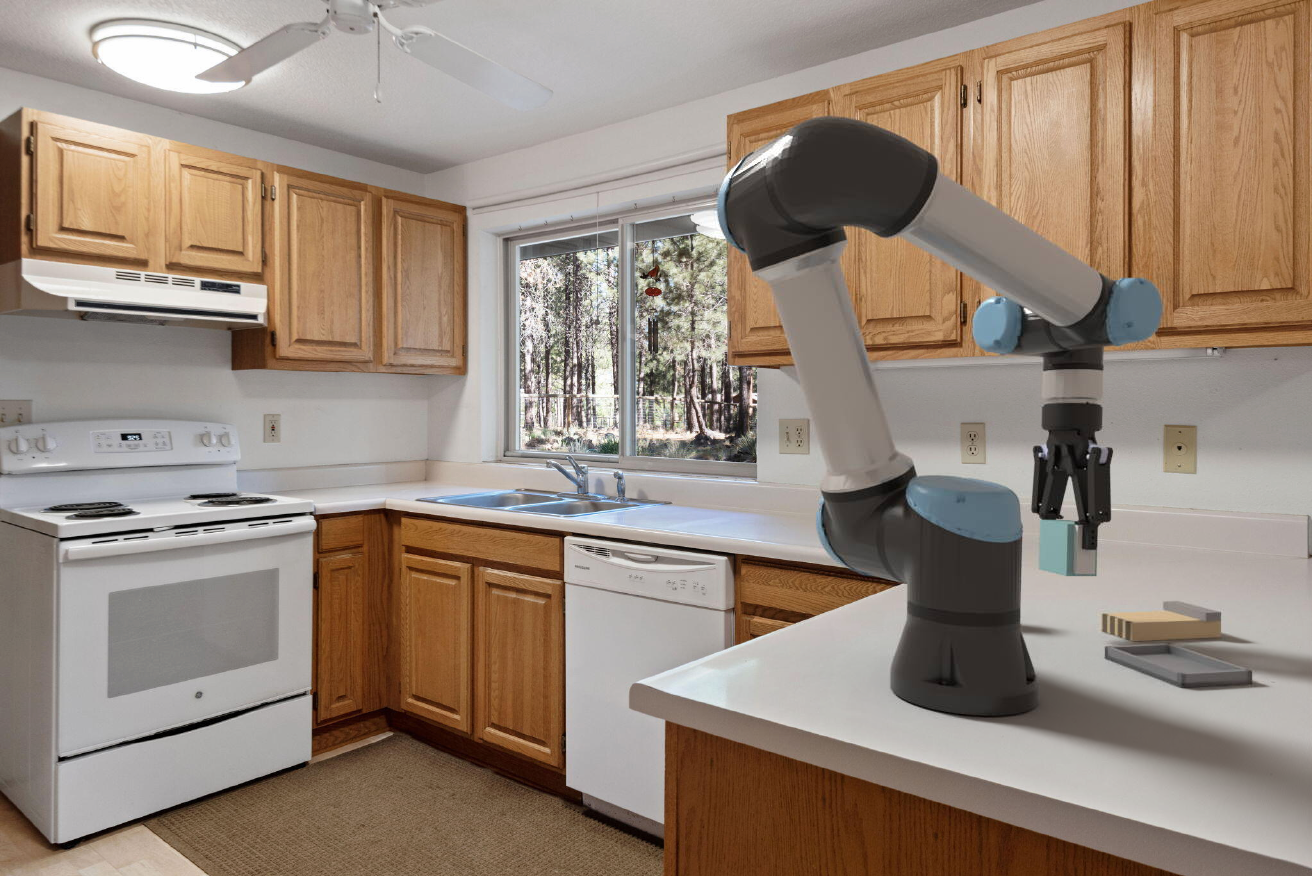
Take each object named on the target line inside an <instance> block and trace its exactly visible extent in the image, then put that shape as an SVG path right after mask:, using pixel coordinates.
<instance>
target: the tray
mask: <svg viewBox="0 0 1312 876" xmlns="http://www.w3.org/2000/svg"><path fill="white" fill-rule="evenodd" d="M1104 659H1106V660H1109V661H1111V662H1114V663H1116V664H1119V665H1121V666H1124V667H1127V668H1129V669H1132V670H1135V671H1136V672H1137V671H1138V672H1140V673H1142V674H1144V675H1148V676H1149V677H1153V678H1155V679H1158V680H1161V681H1163V682H1166V683H1169V684H1171V685H1173V686H1175V687H1179V688H1181V689H1183V688H1201V687H1218V686H1234V685H1250V684H1251V685H1252V684H1253V670H1252V669H1249V668H1246V667H1243V666H1239V665H1236V664H1234V663H1230V662H1228V661H1224V660H1221V659H1219V658H1215V657H1212V656H1209V655H1206V654H1203V653H1200V652H1197V651H1194V650H1191V649H1188V648H1185V647H1182V646H1179V645H1175V644H1173V643H1169V642H1168V643H1167V642H1166V643H1150V644H1149V643H1148V644H1147V643H1145V644H1144V643H1143V644H1129V645H1128V644H1125V645H1105V646H1104Z"/></svg>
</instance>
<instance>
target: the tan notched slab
mask: <svg viewBox="0 0 1312 876" xmlns="http://www.w3.org/2000/svg"><path fill="white" fill-rule="evenodd" d="M1162 602H1163V603H1162V607H1163V608H1162V610H1157V611H1152V610H1151V611H1132V612H1130V611H1129V612H1128V611H1127V612H1125V611H1124V612H1109V613H1107V612H1106V613H1105V612H1102V613H1101V615H1100V619H1101V623H1100V625H1101V626H1100V632H1104V633H1106V634H1109V635H1113V636H1116V637H1118V638H1121V639H1123V640H1127V641H1130V642H1145V641H1148V642H1150V641H1165V640H1166V641H1167V640H1190V639H1211V638H1221V637H1222V612H1221V611H1219V610H1214V609H1209V608H1207V607H1203V606H1199V605H1194V604H1190V603H1187V602H1183V601H1180V600H1174V601H1172V600H1170V601H1162Z"/></svg>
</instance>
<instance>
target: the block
mask: <svg viewBox="0 0 1312 876" xmlns="http://www.w3.org/2000/svg"><path fill="white" fill-rule="evenodd" d="M1075 521H1076V520H1070V519H1056V520H1042V519H1039V539H1038V540H1039V541H1038V542H1039V543H1038V546H1039V547H1038V548H1039V549H1038V570H1040V571H1044V572H1047V573H1052V574H1055V575H1059V576H1064V577H1097V576H1098V575H1097V572H1098V569H1097V567H1098V566H1097V565H1098V564H1097V563H1098V548H1097V549H1096V550H1095V574H1074V573H1073V558H1074V525H1075V523H1074V522H1075Z"/></svg>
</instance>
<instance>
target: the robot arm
mask: <svg viewBox="0 0 1312 876" xmlns="http://www.w3.org/2000/svg"><path fill="white" fill-rule="evenodd" d="M716 212H717V213H716V215H717V219H718V223H719V227H720V230H721V232H722V234H723V236H724V237H725V239H726V241H727V242H728V243H729V244H730V246H732V247H733V248H736V249H737V250H738V251H739V253H741V254H743V255H746V257H747V260H748V262H749V265H750V268H751V272H752V275H753V276H754V277H756V278H758V279H760V280H763V281H764V282H766V283H767V284H768V285H769V287H770V290H771V293H772V296H773V299H774V303H775V307H776V309H777V313H778V316H779V319H780V322H781V326H782V328H783V332H784V335H785V339H786V341H787V344H788V348H789V351H790V355H791V358H792V360H793V365H794V367H795V369H796V374H797V376H798V379H799V383H800V387H801V389H802V393H803V396H804V399H805V402H806V405H807V408H808V412H809V415H810V418H811V422H812V425H813V428H814V431H815V434H816V438H817V441H818V444H819V447H820V450H821V454H822V457H823V460H824V464H825V467H826V471H825V473H824V475H823V476H822V478H821V480H820V482H819V489H820V491H821V495H822V496H821V498H820V501H819V502H818V503H819V509H818V510H817V511H816V515H815V527H816V532H817V533H816V534H817V535H818V539H819V541H820V544H821V546H822V547H823V549H824V550H825V552H826V553H827V554H828V556H829V557H830V558H831V559H833V560H834V561H835V562H836V563H838V564H840V565H841V566H843V567H845V568H847V569H849V570H851V571H853V572H857V573H858V574H860V575H863V576H868V577H878V578H882V579H885V580H890V581H894V582H898V583H900V584H905V585H906V621H905V624H904V627H903V629H902V631H901V635H900V638H899V641H898V643H897V644H898V645H897V648H895V649H896V650H895V654H894V656H893V659H892V662H891V664H890V671H889V672H890V673H889V674H890V677H889V679H890V681H889V682H890V684H889V686H890V689H891V691H892V693H894V694H895V695H897V696H898V697H899V698H901V699H903V700H905V701H907V702H909V703H911V704H914V705H917V706H921V707H925V708H928V709H931V710H937V711H941V712H945V713H953V714H960V715H969V716H970V715H971V716H984V717H985V716H989V717H991V716H995V717H996V716H1008V715H1009V716H1011V715H1015V714H1016V715H1017V714H1022V713H1026V712H1029V711H1030V710H1033V709H1034V708H1036V707H1037V705H1038V704H1039V682H1038V681H1039V680H1038V677H1037V673H1036V671H1035V668H1034V665H1033V662H1032V659H1031V656H1030V653H1029V650H1028V649H1029V648H1027V644H1026V641H1025V637H1024V635H1023V632H1022V626H1021V611H1022V610H1021V605H1022V604H1021V603H1022V564H1023V563H1022V561H1023V559H1022V558H1023V533H1024V530H1023V528H1024V526H1023V523H1022V515H1021V514H1022V513H1021V503H1020V499H1019V497H1018V495H1017V494H1016V493H1015V492H1014V491H1013V490H1012V489H1011V488H1010V487H1008V486H1005V485H1002V484H999V483H997V482H992V481H989V480H984V479H979V478H971V477H969V478H968V477H961V476H957V475H956V476H955V475H941V474H940V475H938V474H936V475H934V474H932V475H929V474H927V475H918V474H917V470H916V467H915V464H914V461H913V458H911V457H910V456H908V455H906V454H905V453H903V452H901V451H899V450H897V448H896V445H895V443H894V439H893V436H892V433H891V429H890V425H889V423H888V419H887V416H886V415H887V414H886V412H885V408H884V404H883V401H882V399H881V396H880V395H881V394H880V391H879V389H878V385H877V382H876V379H875V376H874V372H873V368H872V365H871V361H870V358H869V356H868V351H867V348H866V345H865V342H864V339H863V338H864V337H863V335H862V332H861V329H860V324H859V322H858V318H857V315H856V311H855V309H854V305H853V301H852V298H851V295H850V292H849V287H848V285H847V281H846V279H845V275H844V273H843V268H842V265H841V257H842V256H843V254H844V251H845V249H846V247H847V245H848V243H849V241H848V237H847V234H846V230H845V227H854V228H860V229H862V230H863V229H864V230H866V231H869V232H871V233H872V234H873V235H875V236H877V237H880V238H882V239H885V240H887V239H888V240H889V239H893V238H896V237H899V238H901V239H903V240H904V241H907V242H908V243H910V244H912V245H914V246H915V247H917V248H918V249H920V250H922V251H924V252H926V253H927V254H930V255H931V256H933V257H935V258H936V259H938V260H939V261H941V262H943V263H945V264H947V265H949V266H950V267H952V268H953V269H956V270H957V271H959V272H961V273H962V274H965V275H966V276H967V277H970V278H971V279H973V280H975V281H977V282H979V283H980V284H982V285H984V286H985V287H987V288H989V289H991V290H992V291H995V293H998V294H1000V295H1001V296H1000V295H995V296H992V297H989V298H987V299H985V300H983V302H982V303H981V304H980V305H979V307H978V308H977V310H975V313H974V316H973V319H972V336H973V339H974V342H975V343H976V345H977V346H978V347H979V348H980V349H981V350H983V351H985V352H987V353H988V352H989V353H994V354H997V355H998V354H999V356H1006V355H1011V356H1023V357H1024V356H1026V357H1039V358H1042V360H1043V361H1042V362H1043V363H1042V364H1043V365H1042V366H1043V367H1042V383H1041V384H1042V385H1041V386H1042V388H1041V399H1042V400H1044V401H1046V403H1045V404H1043V406H1041V428H1042V430H1043V431H1046V432H1048V437H1047V439H1046V443H1045V444H1042V445H1034V446H1033V447H1032V453H1033V454H1032V455H1033V459H1034V461H1033V462H1034V465H1033V479H1032V493H1031V494H1032V496H1031V506H1030V507H1031V508H1030V509H1031V513H1033V514H1037V516H1039V520H1064V518H1065V516H1063V515H1062V514H1061V511H1062V506H1063V503H1064V498H1065V494H1066V491H1067V486H1068V481H1069V478H1070V479H1071V483H1072V489H1073V495H1074V501H1075V506H1076V511H1077V518H1078V520H1074V521H1075V522H1074V523H1075V525H1074V558H1073V573H1074V574H1095V550H1096V549H1097V550H1098V544H1099V543H1098V541H1099V540H1098V538H1099V534H1098V533H1099V526H1101V524H1105V523H1110V522H1111V520H1112V498H1111V496H1112V495H1111V493H1112V492H1111V491H1112V490H1111V488H1112V487H1111V463H1112V458H1113V454H1114V449H1113V448H1112V447H1110V446H1101V445H1099V444H1098V441H1097V439H1096V432H1100V431H1101V430H1102V429H1103V411H1104V410H1103V407H1104V406H1102V404H1099V403H1098V402H1099V401H1101V400H1102V399H1103V395H1104V394H1103V393H1104V392H1103V391H1104V389H1103V388H1104V349H1105V347H1121V346H1123V345H1127V344H1128V345H1129V344H1133V343H1139V342H1143V341H1147V340H1148V339H1150V338H1152V336H1154V334H1155V333H1156V332H1157V331H1158V329H1159V327H1160V325H1161V320H1162V317H1163V315H1164V307H1163V306H1164V305H1163V299H1162V296H1161V293H1160V291H1159V289H1158V288H1157V287H1156V285H1155V284H1154V283H1153V282H1152V281H1151V280H1149V279H1147V278H1145V277H1137V276H1136V277H1121V278H1119V279H1111V278H1109V277H1108V276H1106V275H1105V274H1103V273H1101V272H1099V271H1098V270H1097V269H1096V268H1094V267H1092V266H1091V265H1088V264H1087V263H1085V262H1084V261H1082V260H1081V259H1079V258H1077V257H1076V256H1074V255H1073V254H1071V253H1069V252H1068V251H1066V250H1065V249H1063V248H1061V247H1059V246H1058V245H1057V244H1055V243H1053V242H1052V241H1051V240H1049V239H1047V238H1045V237H1044V236H1043V235H1041V234H1039V233H1038V232H1036V231H1034V229H1031V228H1030V227H1029V226H1026V225H1025V224H1023V223H1022V222H1021V221H1019V220H1017V219H1016V218H1014V217H1012V216H1011V215H1009V214H1008V213H1006V212H1005V211H1003V210H1001V209H1000V208H998V207H996V206H995V205H993V204H992V203H990V202H988V201H987V200H985V199H984V198H982V197H981V196H979V195H977V194H976V193H974V192H973V191H971V190H970V189H967V188H966V187H964V186H963V185H961V183H958V182H957V181H955V179H954V180H953V179H952V178H950V177H949V176H948V175H945V174H944V173H942V172H941V167H940V161H939V159H938V158H937V157H936V156H935V155H933V154H932V153H930V152H929V151H927V150H926V149H924V148H922V147H921V146H919V145H917V144H915V142H913V141H910V140H909V139H907V138H906V137H904V136H901V135H900V134H897V133H895V132H893V131H891V130H888V129H886V128H883V127H881V126H878V125H876V124H873V123H869V122H867V121H863V120H860V119H855V118H852V117H847V116H835V115H827V116H817V117H813V118H809V119H806V120H803V121H800V122H799V123H796V124H795V125H794V126H792V127H791V128H790V129H788V130H787V131H785V132H784V133H783V134H780V135H779V136H777V137H776V138H774V139H772V140H771V141H769V142H767V143H765V144H763V145H762V146H761V147H759V148H757V149H755V150H753V151H751V152H749V153H748V154H747V155H745V156H744V157H743V158H741V160H740V161H738V163H737V164H736V165H734V167H732V168H731V169H730V171H729V172H728V173H727V174H726V175H725V177H724V180H723V181H722V183H721V186H720V189H719V191H718V195H717V201H716Z"/></svg>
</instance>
